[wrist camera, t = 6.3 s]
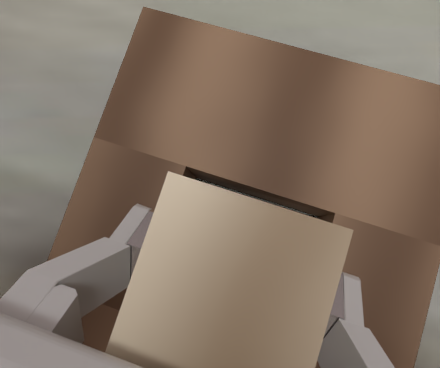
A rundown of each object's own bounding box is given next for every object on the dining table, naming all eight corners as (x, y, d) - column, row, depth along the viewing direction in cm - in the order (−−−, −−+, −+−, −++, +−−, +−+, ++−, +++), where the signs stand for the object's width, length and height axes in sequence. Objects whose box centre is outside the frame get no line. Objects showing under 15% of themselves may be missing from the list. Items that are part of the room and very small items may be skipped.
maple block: (182, 285, 16) (102, 359, 7) (209, 203, 16) (167, 170, 7) (265, 315, 15) (296, 434, 6) (290, 230, 16) (353, 230, 7)
